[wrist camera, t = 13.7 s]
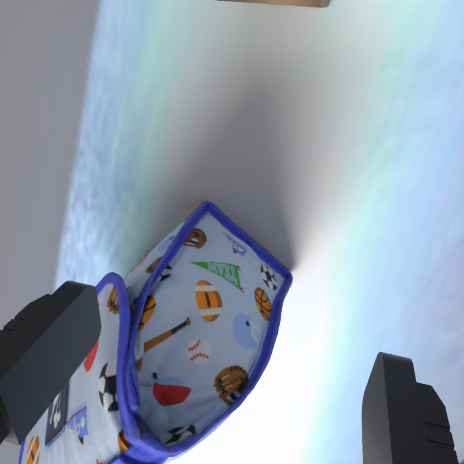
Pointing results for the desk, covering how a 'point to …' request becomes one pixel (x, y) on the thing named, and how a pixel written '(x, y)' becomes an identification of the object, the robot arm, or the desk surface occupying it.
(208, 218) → the lunch bag
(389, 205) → the desk surface
